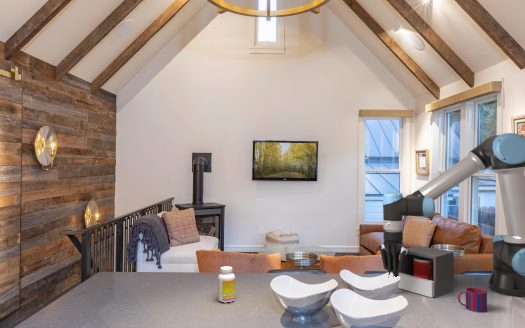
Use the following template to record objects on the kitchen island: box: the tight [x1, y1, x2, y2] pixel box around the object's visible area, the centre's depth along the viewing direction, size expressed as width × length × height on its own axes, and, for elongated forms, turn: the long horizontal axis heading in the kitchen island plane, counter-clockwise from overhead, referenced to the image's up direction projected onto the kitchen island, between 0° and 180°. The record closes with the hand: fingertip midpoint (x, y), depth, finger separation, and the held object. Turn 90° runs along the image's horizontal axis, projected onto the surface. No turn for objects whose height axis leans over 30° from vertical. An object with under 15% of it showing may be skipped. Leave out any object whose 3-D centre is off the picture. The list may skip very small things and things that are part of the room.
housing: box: [400, 245, 455, 298], centre depth 159 cm, size 16×14×16 cm
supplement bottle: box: [217, 265, 236, 303], centre depth 146 cm, size 7×7×13 cm
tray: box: [397, 273, 436, 298], centre depth 158 cm, size 15×15×6 cm
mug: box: [457, 286, 488, 313], centre depth 137 cm, size 7×10×7 cm
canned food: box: [414, 256, 434, 281], centre depth 158 cm, size 8×8×11 cm
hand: (393, 288), depth 153 cm, fingers closed
